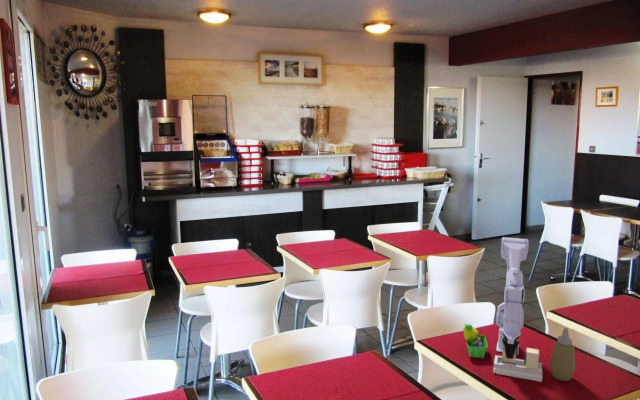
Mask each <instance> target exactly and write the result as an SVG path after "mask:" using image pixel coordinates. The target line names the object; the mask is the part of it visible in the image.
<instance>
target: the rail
mask: <svg viewBox="0 0 640 400" xmlns="http://www.w3.org/2000/svg"><path fill="white" fill-rule="evenodd" d="M539 357H540V349H538V348H531V347H526V350H525V351H524V358H523V359H520V358H516V359H515V363H511V362H505V361H502V355H496V354H495V355H494V359H493V360H494V361H493V371H492V373H493V374H495V373H496V374H497V375H500V376H501V375H502V376H508V377H512V378H518V379H524V380H531V381H535V382H539V383H540V382H541V383H542V382H543V362H539V359H540V358H539Z"/></svg>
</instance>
